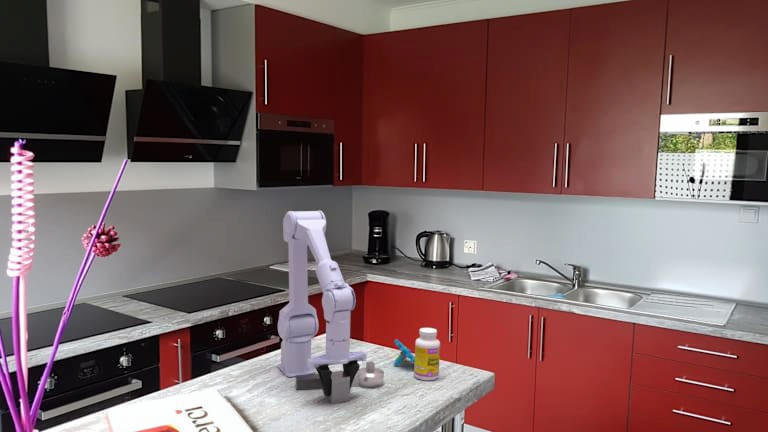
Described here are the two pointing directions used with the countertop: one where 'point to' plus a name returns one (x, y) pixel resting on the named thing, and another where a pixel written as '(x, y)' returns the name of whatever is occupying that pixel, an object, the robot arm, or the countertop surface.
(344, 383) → the brushed metal cube
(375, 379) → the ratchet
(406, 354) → the blue branched piece
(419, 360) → the supplement bottle
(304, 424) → the countertop surface
